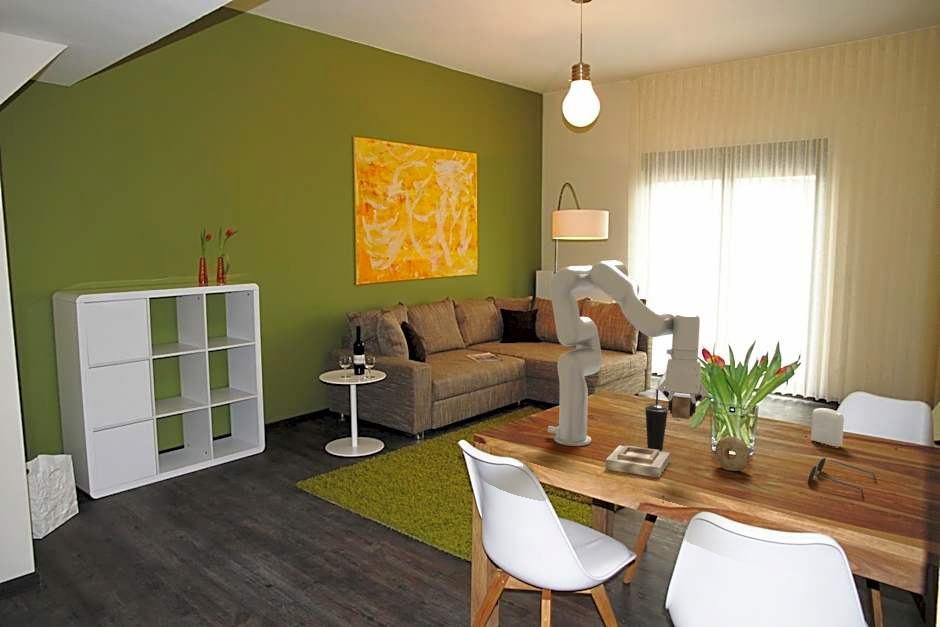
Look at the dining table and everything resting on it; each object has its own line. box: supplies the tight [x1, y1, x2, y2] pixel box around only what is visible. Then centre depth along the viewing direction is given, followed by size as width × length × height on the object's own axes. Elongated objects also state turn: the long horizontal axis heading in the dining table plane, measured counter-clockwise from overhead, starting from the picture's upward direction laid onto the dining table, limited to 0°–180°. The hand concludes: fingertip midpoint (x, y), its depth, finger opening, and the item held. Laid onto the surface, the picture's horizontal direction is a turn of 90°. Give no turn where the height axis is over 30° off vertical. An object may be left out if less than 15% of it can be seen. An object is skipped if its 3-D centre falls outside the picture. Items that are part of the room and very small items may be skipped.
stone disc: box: [714, 436, 752, 472], centre depth 208 cm, size 10×4×10 cm, turn 48°
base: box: [605, 444, 671, 478], centre depth 212 cm, size 16×16×4 cm
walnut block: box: [671, 393, 692, 420], centre depth 208 cm, size 5×5×6 cm
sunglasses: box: [807, 457, 877, 498], centre depth 198 cm, size 17×15×5 cm
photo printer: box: [810, 407, 845, 446], centre depth 235 cm, size 10×4×12 cm, turn 29°
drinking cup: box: [644, 388, 670, 451], centre depth 229 cm, size 8×8×20 cm
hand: (681, 413), depth 208 cm, fingers closed on walnut block, 5 cm apart
